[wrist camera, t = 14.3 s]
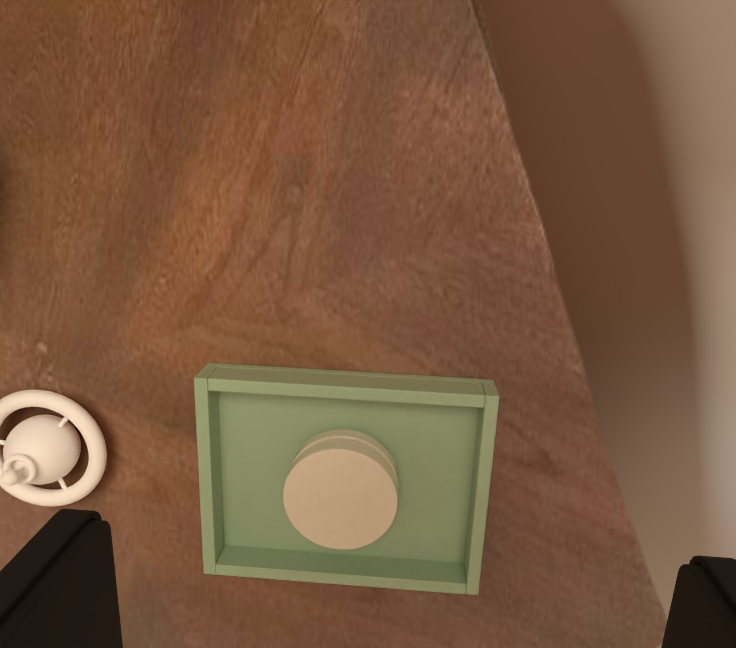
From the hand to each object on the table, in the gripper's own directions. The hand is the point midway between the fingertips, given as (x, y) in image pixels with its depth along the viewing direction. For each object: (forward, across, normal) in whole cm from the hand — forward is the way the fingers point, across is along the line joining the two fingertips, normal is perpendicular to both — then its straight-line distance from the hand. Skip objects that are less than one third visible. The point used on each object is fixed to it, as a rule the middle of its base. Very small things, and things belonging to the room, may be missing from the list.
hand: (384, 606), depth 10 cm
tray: (+26, +3, +13) cm, 29 cm away
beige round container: (+26, +3, +13) cm, 29 cm away
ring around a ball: (+26, +22, +12) cm, 36 cm away
